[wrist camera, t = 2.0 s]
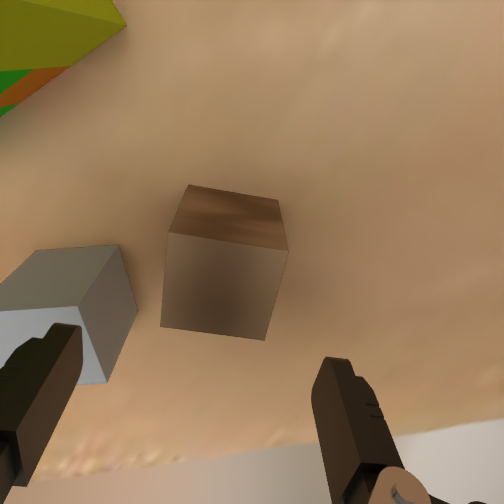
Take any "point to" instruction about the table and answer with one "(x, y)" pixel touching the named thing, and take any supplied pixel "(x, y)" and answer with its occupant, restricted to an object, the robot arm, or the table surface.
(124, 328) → the slate block
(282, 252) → the walnut block
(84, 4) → the puzzle toy
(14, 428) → the robot arm
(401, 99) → the table surface
